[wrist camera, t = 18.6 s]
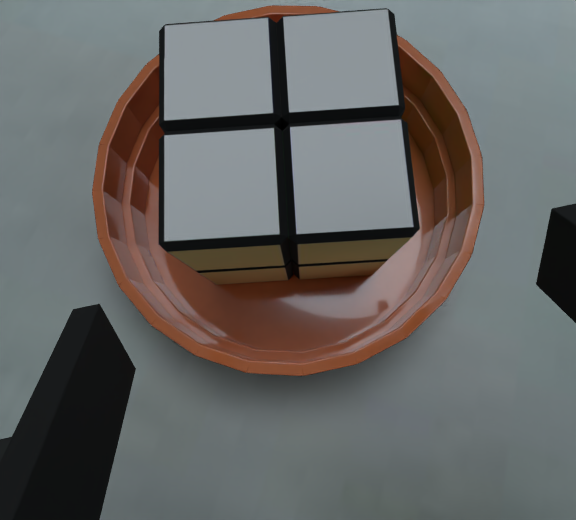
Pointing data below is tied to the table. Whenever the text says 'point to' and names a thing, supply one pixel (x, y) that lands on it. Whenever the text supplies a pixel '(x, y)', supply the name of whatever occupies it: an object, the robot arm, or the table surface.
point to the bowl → (294, 292)
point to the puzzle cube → (284, 146)
